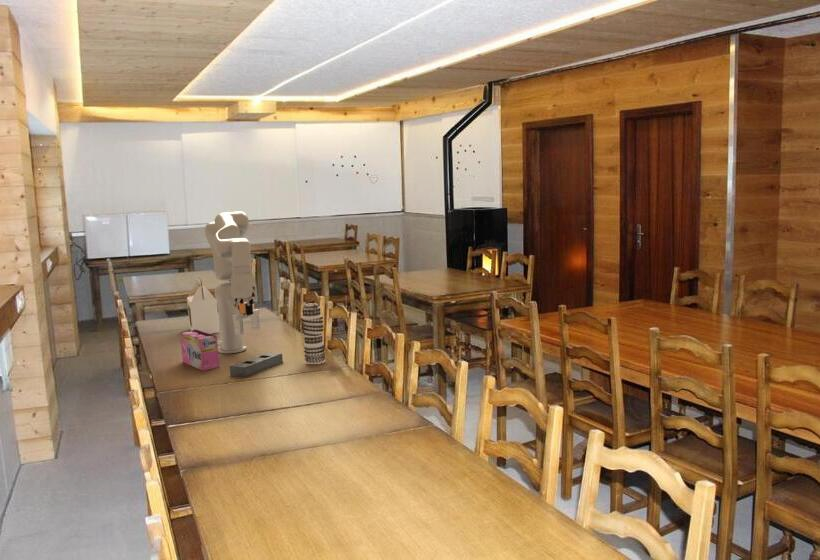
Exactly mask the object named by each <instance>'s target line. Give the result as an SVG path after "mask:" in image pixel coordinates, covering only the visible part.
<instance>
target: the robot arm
mask: <svg viewBox="0 0 820 560" xmlns="http://www.w3.org/2000/svg"><path fill="white" fill-rule="evenodd" d="M249 225H250V222H249V217H248V215H247V214H246V213H245V212H244V211H227V212H221V213H219V214H217V215H216V216H215V217H214V221H212V222H209V223H207V224H206V225H205V227H204V234H205V237H206V241H207V243H208V244H209V247H210V249H211V252H212V257H213V264H214V271H215V272H214V273H215V277H216V278H217V280H218V281H230V282H226V283H220V284H218V285H216V286H215V288H214V298H215V299H216V301H217V311H218V322H219V333H220V340H217V342H218V347H219V348H218V353H220V354H227V355H228V354H238V353H241V352H245V351H246V350H247V346H246V345H244V344H243V334H242V335H236V334H235V330H234V320H233V315H236V314H240V310H239V308H238V307H236V306H235V305H234V304H237V306H239V303H243V302H247V306H246V311H247V315H252V314H253V310H254V306H253V305H254V304H255V302H256V301H257V300H259V296H258V293H257V292H258V290H257V284H256V279H255V275H254V273H253V269H252V268H253V266H252V257H251V250H252V245H251V242H250V241H249V240H248V239H247V238H246V237H245V235H246V234H247V231H248V229H249Z"/></svg>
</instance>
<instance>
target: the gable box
mask: <svg viewBox="0 0 820 560" xmlns="http://www.w3.org/2000/svg"><path fill="white" fill-rule="evenodd" d="M194 281H195V282H196V283H194V285H193V286H192V289H191V291H189V294H188V296H187V297H186V302H187V303H186V304H187V312H188V313H187V314H188V322H189V329H190V332H192V330H199V331H202V332H205V333H208V334H212V335H214V334H219V333H220V322H219V312H218V306H217V301H216V297H215V296H214V295H213V294H212V293H211V291H209V289H208V288H207V287H206V286H205V285H204V284H203V281H202V279H201V278H200V277H197V280H196V279H194Z"/></svg>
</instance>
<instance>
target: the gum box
mask: <svg viewBox="0 0 820 560" xmlns="http://www.w3.org/2000/svg"><path fill="white" fill-rule="evenodd" d="M179 336H180V345H181V346H180V347H181V357H182V358H181V359H182V363H184V364H186V365H189V366H190V367H194V368H196V369H197V370H200V371H207V370H212V369H217V367H218V368H221V367H220V356H219V346H218V337H217V335H215V334H208V333H205V332H202V331H199V330H192V332H191V331H186V332H182V331H180V332H179Z"/></svg>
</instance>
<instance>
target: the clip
mask: <svg viewBox="0 0 820 560" xmlns="http://www.w3.org/2000/svg"><path fill="white" fill-rule="evenodd" d="M246 306H247V302H243V303H239V305H238V310H240V314H236V315H233V320H234V330H235V334H236V335H242V336H243V335H244V334H245V329H244V319H247V318H250V328H251V330H254V331H257V330H260V329H261V324H260V322H261V321H260V309H259V308H258V309H256V308H255V309H253V314H252V315H247V311H246Z"/></svg>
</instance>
